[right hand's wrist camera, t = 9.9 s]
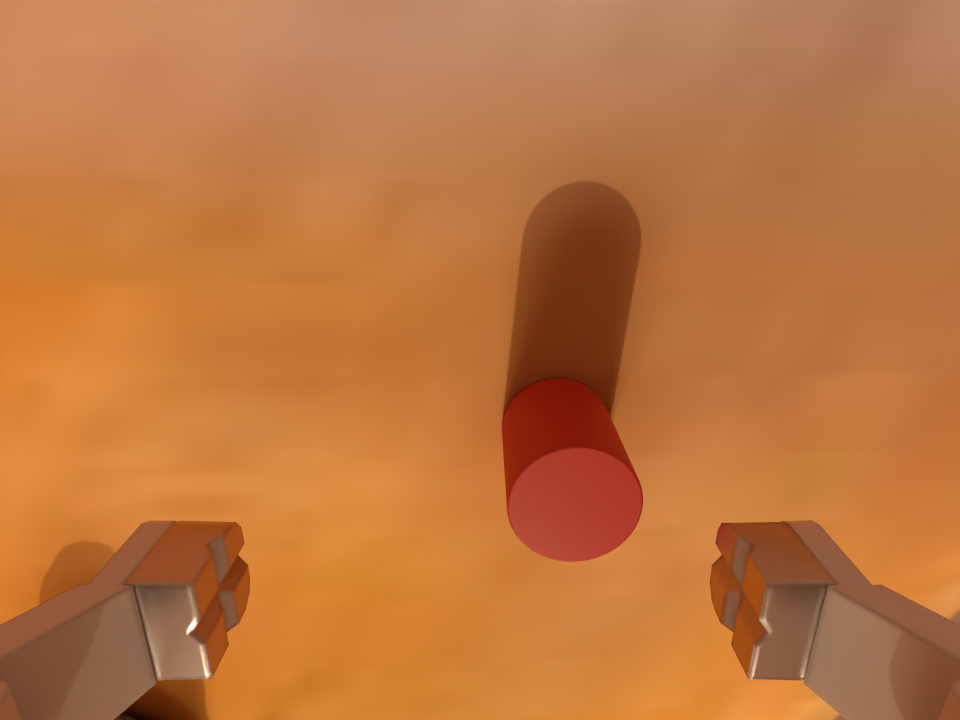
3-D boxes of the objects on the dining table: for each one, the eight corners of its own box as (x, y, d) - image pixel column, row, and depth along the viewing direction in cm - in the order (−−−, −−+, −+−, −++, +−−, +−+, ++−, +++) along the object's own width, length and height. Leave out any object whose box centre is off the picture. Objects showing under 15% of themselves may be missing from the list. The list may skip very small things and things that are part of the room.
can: (490, 461, 21) (492, 548, 16) (517, 366, 20) (527, 433, 15) (590, 483, 21) (618, 573, 17) (623, 390, 20) (662, 462, 16)
